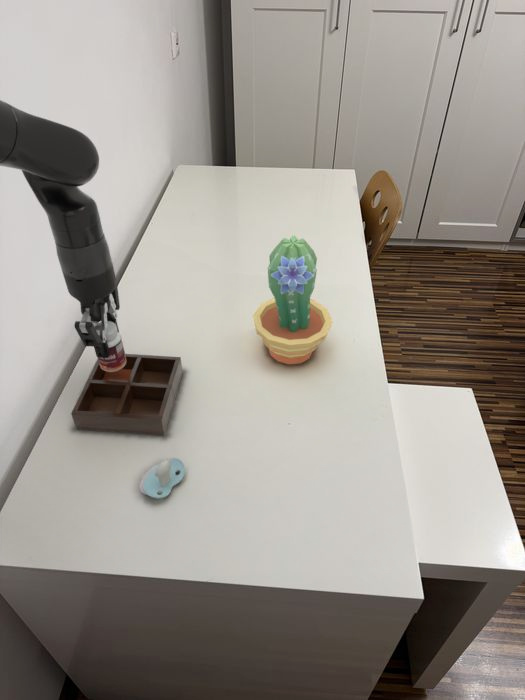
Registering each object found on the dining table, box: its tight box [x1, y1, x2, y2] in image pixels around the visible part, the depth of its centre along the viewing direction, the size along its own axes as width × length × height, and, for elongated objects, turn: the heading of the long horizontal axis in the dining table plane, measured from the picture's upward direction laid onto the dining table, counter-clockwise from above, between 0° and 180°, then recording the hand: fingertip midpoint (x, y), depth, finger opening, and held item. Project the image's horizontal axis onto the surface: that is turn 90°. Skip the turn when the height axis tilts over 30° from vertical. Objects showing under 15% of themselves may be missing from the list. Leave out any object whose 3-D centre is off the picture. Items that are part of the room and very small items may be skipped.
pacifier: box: [138, 458, 186, 500], centre depth 76 cm, size 7×6×6 cm
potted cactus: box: [252, 235, 333, 365], centre depth 93 cm, size 16×15×25 cm
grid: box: [70, 353, 184, 436], centre depth 90 cm, size 15×15×4 cm
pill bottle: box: [96, 321, 126, 372], centre depth 88 cm, size 5×5×8 cm
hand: (108, 345), depth 88 cm, fingers closed on pill bottle, 4 cm apart
